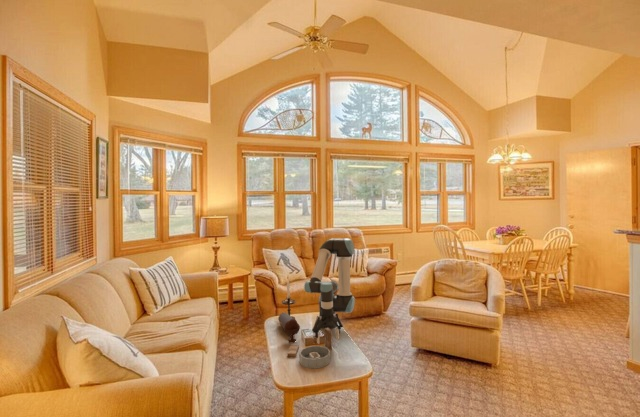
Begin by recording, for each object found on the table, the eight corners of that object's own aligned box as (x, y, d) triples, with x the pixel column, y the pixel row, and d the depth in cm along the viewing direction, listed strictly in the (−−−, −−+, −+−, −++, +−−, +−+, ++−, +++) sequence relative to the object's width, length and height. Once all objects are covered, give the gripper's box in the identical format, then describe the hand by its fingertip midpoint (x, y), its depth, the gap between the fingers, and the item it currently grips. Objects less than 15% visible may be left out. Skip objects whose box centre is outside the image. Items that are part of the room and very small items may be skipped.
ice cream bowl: (301, 337, 230) (300, 315, 230) (298, 344, 219) (298, 321, 219) (286, 337, 231) (285, 315, 231) (282, 344, 220) (282, 321, 220)
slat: (291, 349, 214) (290, 345, 214) (298, 349, 214) (298, 345, 213) (287, 357, 202) (287, 353, 202) (295, 357, 202) (295, 353, 202)
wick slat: (328, 346, 215) (328, 327, 215) (331, 349, 211) (331, 330, 211) (325, 346, 214) (324, 328, 214) (328, 349, 210) (327, 330, 210)
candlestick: (294, 322, 261) (292, 277, 260) (280, 321, 263) (279, 276, 262) (297, 317, 272) (296, 274, 271) (284, 316, 274) (283, 273, 273)
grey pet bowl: (322, 351, 208) (322, 343, 208) (335, 363, 191) (334, 355, 191) (295, 357, 201) (295, 349, 201) (306, 370, 185) (305, 361, 185)
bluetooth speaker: (277, 325, 254) (277, 312, 254) (289, 323, 257) (289, 311, 257) (285, 336, 233) (285, 322, 232) (298, 334, 236) (297, 320, 236)
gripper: (342, 303, 220) (343, 335, 221) (306, 308, 211) (307, 342, 211) (347, 306, 214) (348, 339, 214) (310, 311, 204) (311, 346, 204)
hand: (328, 340), depth 212 cm, fingers open, 13 cm apart
